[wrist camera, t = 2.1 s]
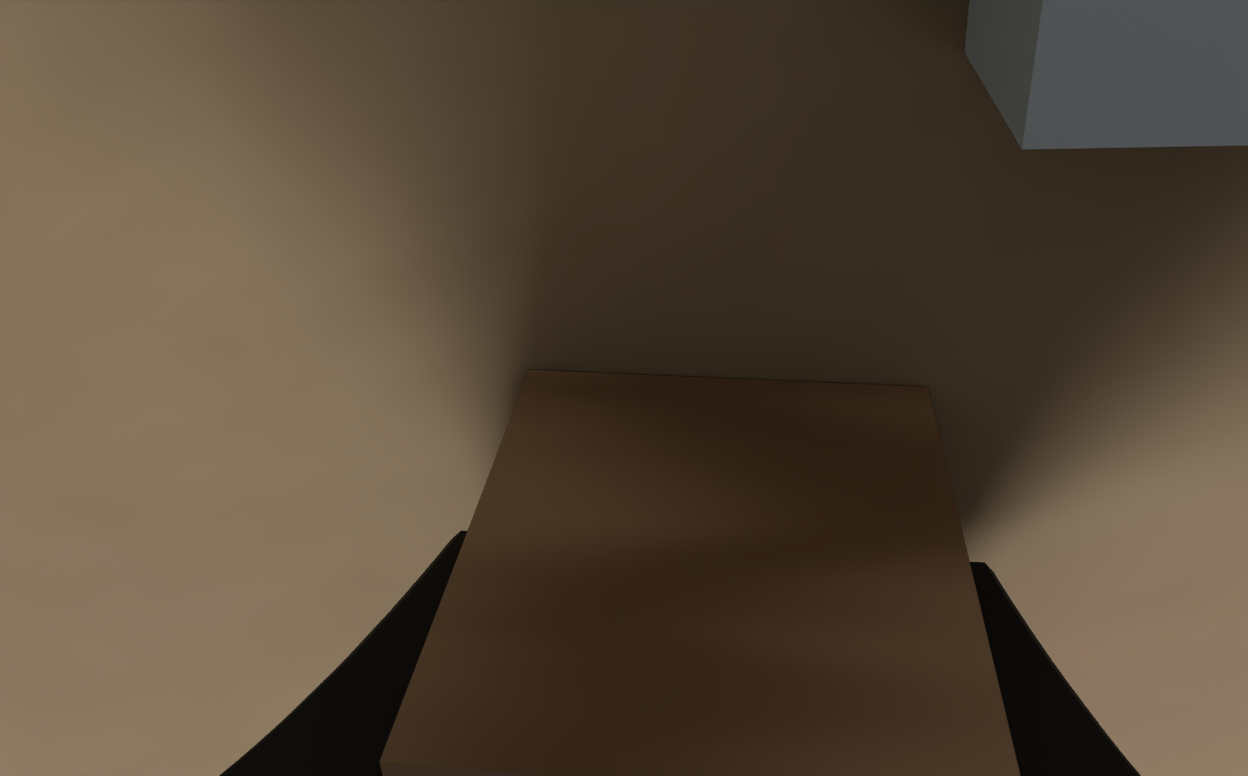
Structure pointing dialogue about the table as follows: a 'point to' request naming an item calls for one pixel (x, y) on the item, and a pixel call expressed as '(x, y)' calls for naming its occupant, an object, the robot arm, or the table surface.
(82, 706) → the table surface
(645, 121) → the table surface
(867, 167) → the table surface
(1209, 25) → the slate slab
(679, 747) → the walnut block
